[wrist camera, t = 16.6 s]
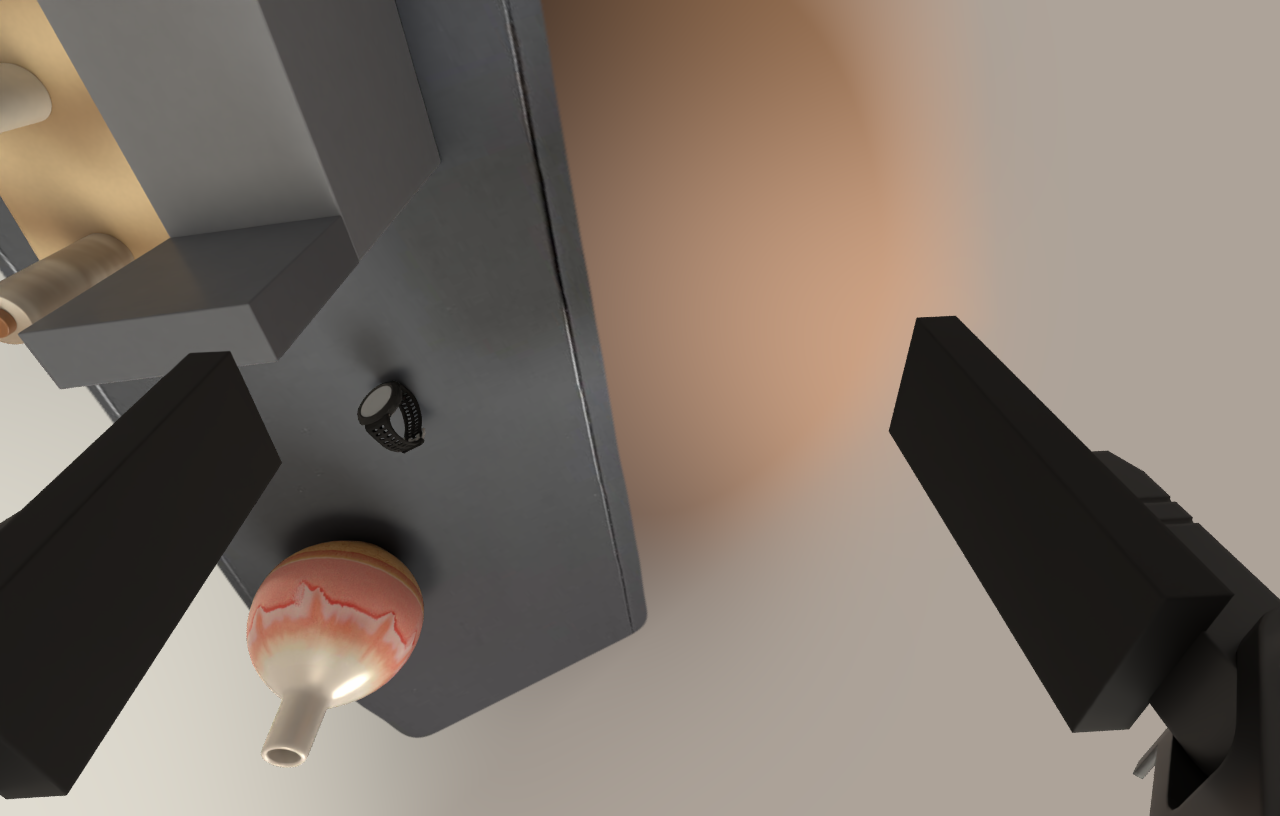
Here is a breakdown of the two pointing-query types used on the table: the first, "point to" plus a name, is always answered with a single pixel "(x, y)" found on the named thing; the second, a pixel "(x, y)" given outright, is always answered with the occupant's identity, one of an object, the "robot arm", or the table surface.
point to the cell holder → (64, 183)
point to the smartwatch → (381, 408)
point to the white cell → (21, 98)
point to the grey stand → (237, 171)
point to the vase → (329, 635)
